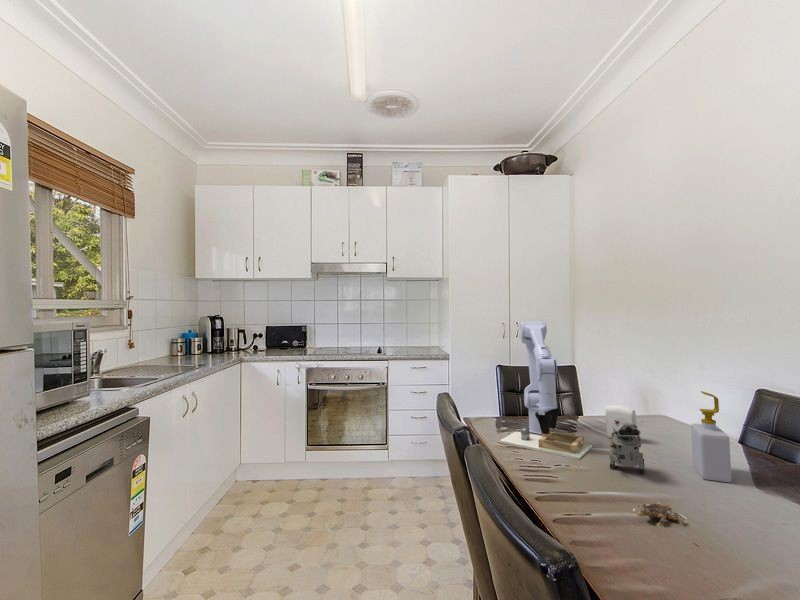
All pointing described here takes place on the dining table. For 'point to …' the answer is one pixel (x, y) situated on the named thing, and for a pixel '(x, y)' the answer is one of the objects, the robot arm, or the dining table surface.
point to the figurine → (626, 445)
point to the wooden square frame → (559, 446)
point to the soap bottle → (711, 447)
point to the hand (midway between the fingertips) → (548, 431)
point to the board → (535, 444)
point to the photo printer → (618, 416)
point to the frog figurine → (660, 513)
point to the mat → (570, 453)
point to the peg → (525, 433)
